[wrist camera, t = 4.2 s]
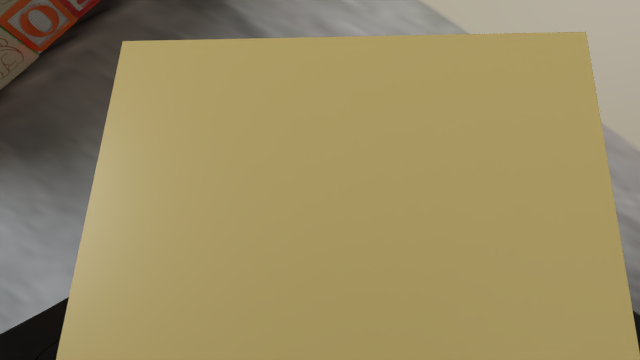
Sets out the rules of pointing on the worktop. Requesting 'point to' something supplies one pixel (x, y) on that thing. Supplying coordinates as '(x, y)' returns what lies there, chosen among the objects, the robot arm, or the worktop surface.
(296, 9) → the worktop surface
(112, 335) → the mustard brick
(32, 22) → the stack of blocks
